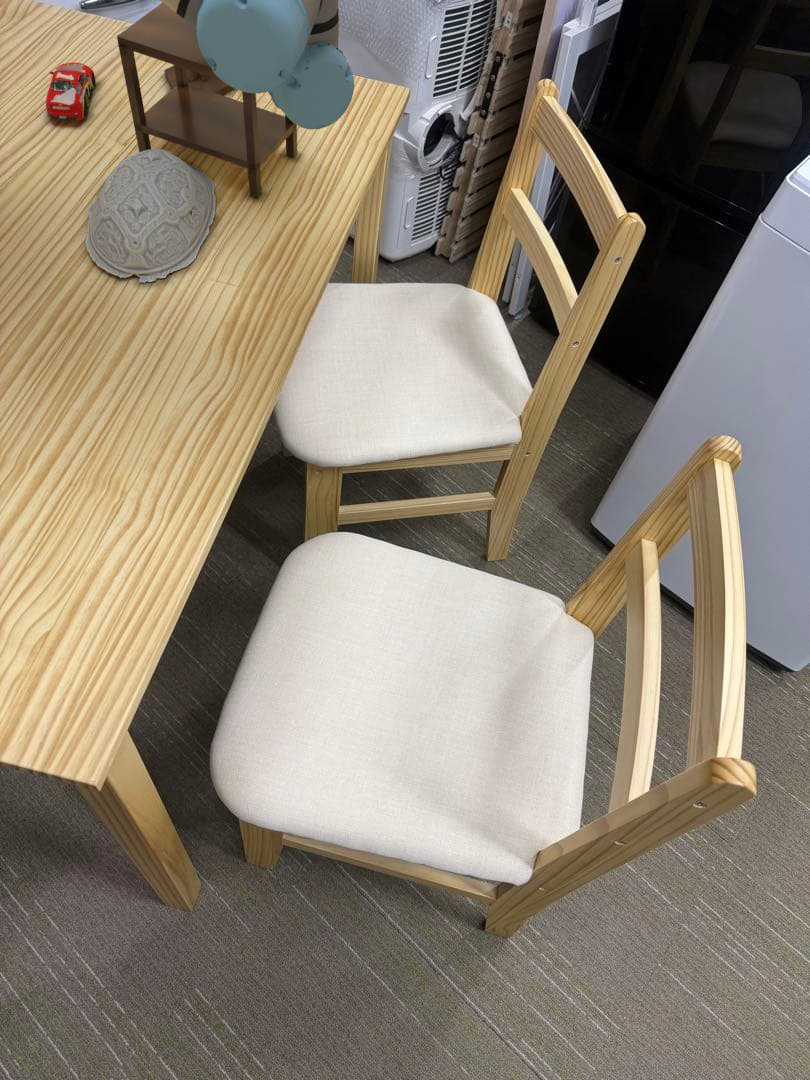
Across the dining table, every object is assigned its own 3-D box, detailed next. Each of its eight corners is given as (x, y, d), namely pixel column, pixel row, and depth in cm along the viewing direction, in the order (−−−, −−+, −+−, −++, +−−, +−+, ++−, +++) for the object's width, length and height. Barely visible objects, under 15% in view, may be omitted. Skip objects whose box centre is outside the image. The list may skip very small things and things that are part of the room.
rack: (257, 199, 105) (250, 80, 92) (140, 158, 107) (116, 35, 94) (297, 154, 111) (295, 37, 98) (185, 116, 113) (169, -4, 100)
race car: (62, 75, 116) (54, 46, 112) (99, 78, 116) (93, 50, 113) (43, 125, 108) (35, 96, 105) (84, 128, 109) (77, 99, 106)
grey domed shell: (227, 163, 107) (217, 116, 101) (196, 292, 95) (182, 247, 89) (116, 160, 107) (99, 113, 101) (71, 289, 95) (49, 244, 89)
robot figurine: (154, 92, 116) (139, 2, 105) (171, 60, 121) (159, -28, 111) (228, 104, 116) (220, 16, 106) (242, 73, 121) (236, -15, 111)
